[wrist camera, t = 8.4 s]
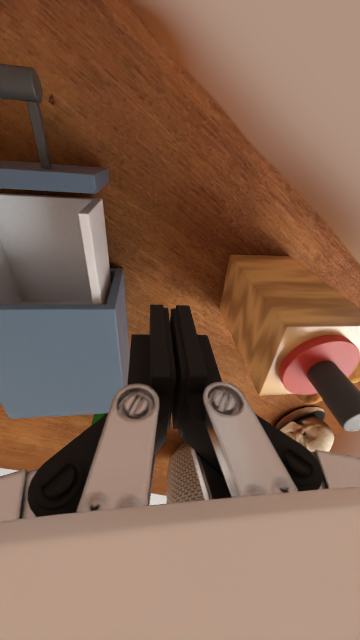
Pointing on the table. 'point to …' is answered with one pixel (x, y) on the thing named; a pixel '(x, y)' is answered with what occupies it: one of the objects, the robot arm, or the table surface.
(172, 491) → the planter
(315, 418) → the skull
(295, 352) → the pan lid
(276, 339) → the wooden block
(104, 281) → the blue pull-out drawer box
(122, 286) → the slate drawer box
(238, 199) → the table surface
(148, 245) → the table surface
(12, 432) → the table surface
